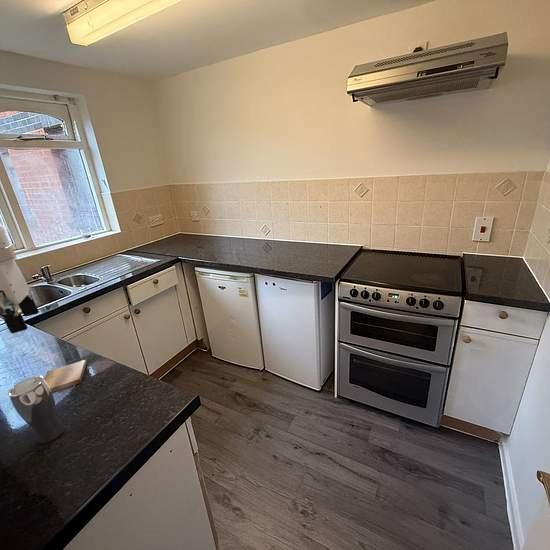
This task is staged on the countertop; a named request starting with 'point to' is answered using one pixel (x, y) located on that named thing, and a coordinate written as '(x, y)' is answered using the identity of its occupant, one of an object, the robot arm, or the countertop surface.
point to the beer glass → (37, 408)
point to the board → (65, 376)
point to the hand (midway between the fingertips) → (26, 322)
